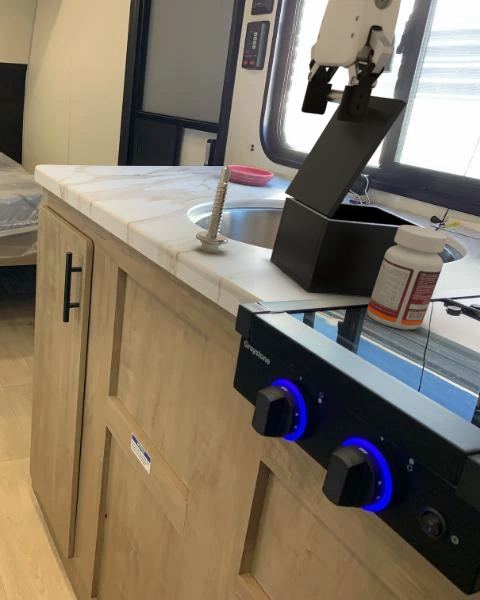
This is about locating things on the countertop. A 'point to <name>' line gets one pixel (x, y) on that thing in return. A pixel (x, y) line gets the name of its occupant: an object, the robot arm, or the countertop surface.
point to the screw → (216, 217)
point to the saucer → (249, 175)
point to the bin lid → (342, 154)
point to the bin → (335, 246)
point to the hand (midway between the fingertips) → (329, 117)
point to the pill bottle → (407, 278)
